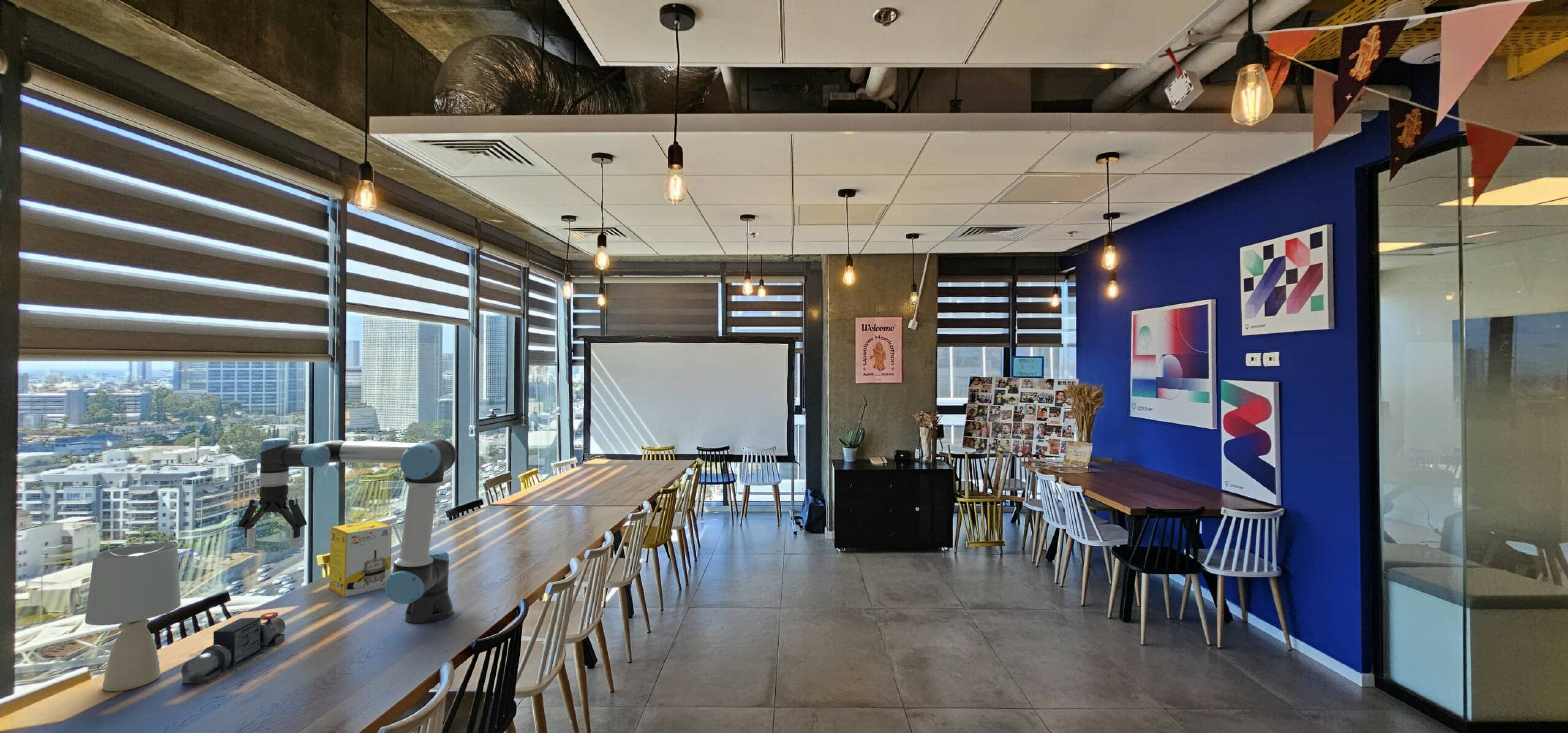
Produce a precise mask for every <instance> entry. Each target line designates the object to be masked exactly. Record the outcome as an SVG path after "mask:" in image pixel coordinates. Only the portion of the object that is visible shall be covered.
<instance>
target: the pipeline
mask: <svg viewBox="0 0 1568 733" xmlns="http://www.w3.org/2000/svg"><path fill="white" fill-rule="evenodd" d="M278 616H279V612H276V611H273V612H272V611H271V612H267V613H264V614H261V615H260V617H261V620H262V621H264V622H261V633H260V646H261V650H260V651H259V652H257V653H255V654H253V655H252V656H250V657H248V658H246V659H245V660H243V661H241V662H240V663H238V664H236V665H234V666H229V664H230V662H231V653H230V651H229V649H228V648H227V647H225V646H223V645H220V644H215V645H213V644H212V645H210V646H207V647H206V648H204V649H203V650H202V651H201V653H200V655H198V656H196V657H194V658H192V659H190V660H188V661H186V662H185V663H183V665H182V667H181V671H180V672H181V676H182V677H181V679H182V681H181V684H182V683H201V684H210V683H211V681H212V680H214V681H215V680H217V679H219V678H221V677H220V676H222V674H221V673H222V672H238V671H239V670H241V669H244V668H245V667H246V666H249V665H250V664H251V663H253V662H255V661H257V660H259V659H260V658H262V657H264V656H265V655H268V654H269V653H270V652H273V651H274V650H275V647H267V646H277V645H278V644H280V643H281V642H283V641H285V633H284V632H285V629H286V623H285V621H284V620H283V619H282V618H280V617H278ZM218 677H219V678H218ZM209 682H210V683H209ZM212 682H213V681H212Z"/></svg>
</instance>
